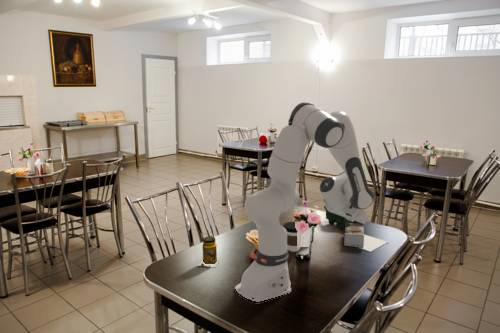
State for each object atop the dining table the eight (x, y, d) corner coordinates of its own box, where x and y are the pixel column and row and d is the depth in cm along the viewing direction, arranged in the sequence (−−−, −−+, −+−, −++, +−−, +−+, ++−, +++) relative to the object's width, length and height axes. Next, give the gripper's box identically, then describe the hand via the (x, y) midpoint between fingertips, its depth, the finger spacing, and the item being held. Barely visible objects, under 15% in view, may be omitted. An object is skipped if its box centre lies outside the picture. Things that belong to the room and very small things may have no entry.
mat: (370, 252, 172) (370, 251, 172) (346, 243, 182) (346, 242, 182) (388, 242, 182) (388, 242, 182) (364, 235, 192) (364, 234, 192)
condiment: (216, 268, 158) (215, 241, 156) (196, 267, 159) (195, 241, 156) (219, 260, 165) (218, 235, 163) (200, 259, 166) (199, 234, 163)
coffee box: (344, 233, 177) (345, 222, 192) (344, 246, 178) (344, 233, 193) (364, 235, 174) (363, 223, 190) (363, 247, 176) (363, 235, 191)
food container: (317, 245, 180) (317, 225, 178) (304, 244, 181) (305, 225, 179) (313, 235, 193) (314, 217, 190) (301, 235, 193) (302, 217, 191)
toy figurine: (364, 234, 198) (327, 218, 216) (369, 201, 192) (331, 187, 211) (353, 238, 192) (316, 221, 210) (358, 204, 187) (320, 190, 205)
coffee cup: (308, 247, 178) (309, 224, 175) (298, 256, 169) (299, 231, 166) (288, 242, 183) (289, 219, 181) (277, 250, 175) (278, 226, 172)
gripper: (318, 203, 169) (329, 218, 177) (356, 216, 154) (367, 232, 162) (325, 192, 171) (336, 207, 179) (364, 204, 156) (374, 220, 164)
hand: (351, 219), depth 171 cm, fingers closed
